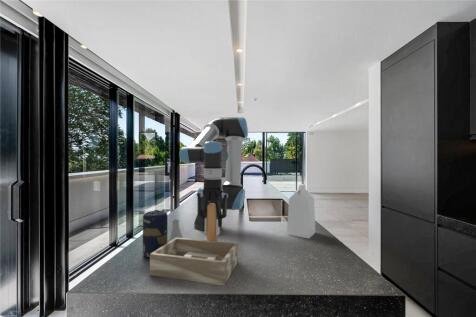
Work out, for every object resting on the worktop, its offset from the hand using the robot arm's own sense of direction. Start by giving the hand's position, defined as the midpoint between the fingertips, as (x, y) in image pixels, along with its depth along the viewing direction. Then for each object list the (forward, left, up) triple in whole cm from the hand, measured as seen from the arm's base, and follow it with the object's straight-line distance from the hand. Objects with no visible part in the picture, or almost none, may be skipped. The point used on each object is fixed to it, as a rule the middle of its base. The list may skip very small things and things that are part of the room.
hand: (212, 233), depth 105 cm
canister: (+9, -21, -8) cm, 24 cm away
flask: (-8, -21, -8) cm, 24 cm away
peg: (0, 0, -4) cm, 4 cm away
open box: (+16, 0, -7) cm, 18 cm away
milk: (-37, +37, -8) cm, 53 cm away
